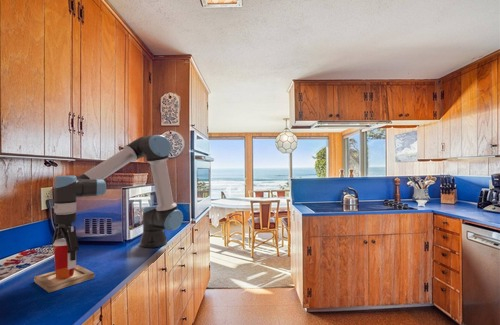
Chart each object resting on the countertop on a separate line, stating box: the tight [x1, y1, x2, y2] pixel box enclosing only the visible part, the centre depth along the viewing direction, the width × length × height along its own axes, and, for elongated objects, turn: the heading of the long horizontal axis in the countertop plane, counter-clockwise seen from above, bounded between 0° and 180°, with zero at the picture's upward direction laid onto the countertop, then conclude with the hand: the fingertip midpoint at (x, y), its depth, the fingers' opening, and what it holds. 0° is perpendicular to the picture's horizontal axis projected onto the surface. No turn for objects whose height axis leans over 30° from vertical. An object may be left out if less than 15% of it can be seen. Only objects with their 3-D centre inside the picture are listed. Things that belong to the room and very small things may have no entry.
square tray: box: [33, 264, 95, 293], centre depth 111 cm, size 16×16×2 cm
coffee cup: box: [52, 238, 74, 279], centre depth 111 cm, size 8×8×15 cm
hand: (64, 264), depth 111 cm, fingers open, 13 cm apart
